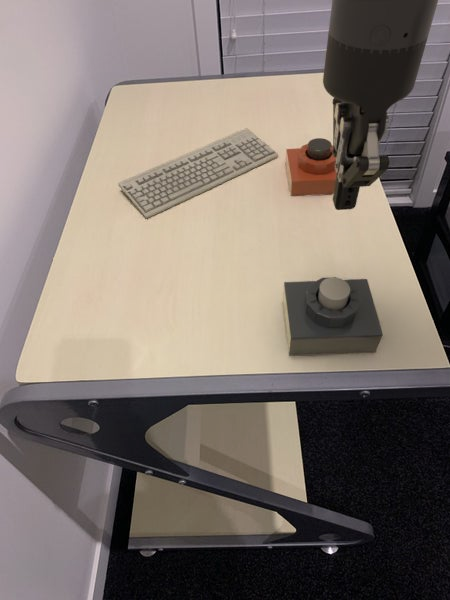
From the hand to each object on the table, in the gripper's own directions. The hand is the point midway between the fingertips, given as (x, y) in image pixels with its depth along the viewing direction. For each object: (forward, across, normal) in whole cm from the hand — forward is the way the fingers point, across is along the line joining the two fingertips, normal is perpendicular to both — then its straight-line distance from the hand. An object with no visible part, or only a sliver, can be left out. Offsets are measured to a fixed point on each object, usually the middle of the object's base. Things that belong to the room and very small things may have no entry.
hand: (343, 205), depth 47 cm
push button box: (+17, -4, 0) cm, 17 cm away
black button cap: (+12, +29, -3) cm, 32 cm away
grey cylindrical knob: (+11, -4, 0) cm, 12 cm away
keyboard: (+17, +32, +18) cm, 41 cm away
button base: (+17, +29, -3) cm, 34 cm away
